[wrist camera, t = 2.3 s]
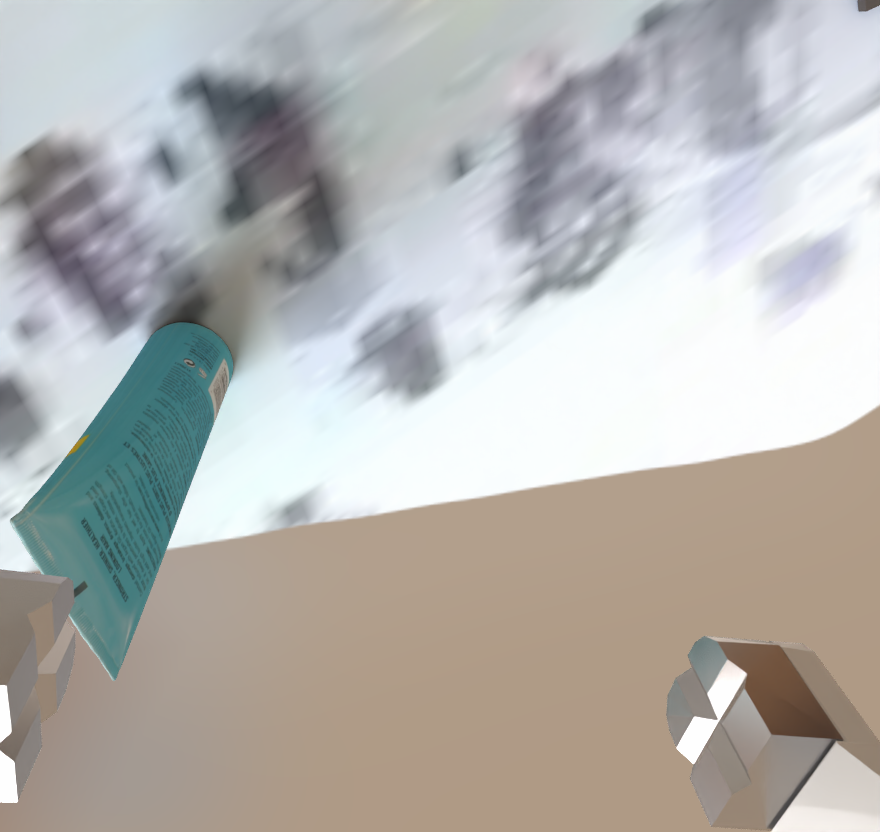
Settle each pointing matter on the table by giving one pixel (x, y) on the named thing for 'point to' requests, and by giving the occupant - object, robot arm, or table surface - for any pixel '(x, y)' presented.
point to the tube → (128, 485)
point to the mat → (867, 4)
